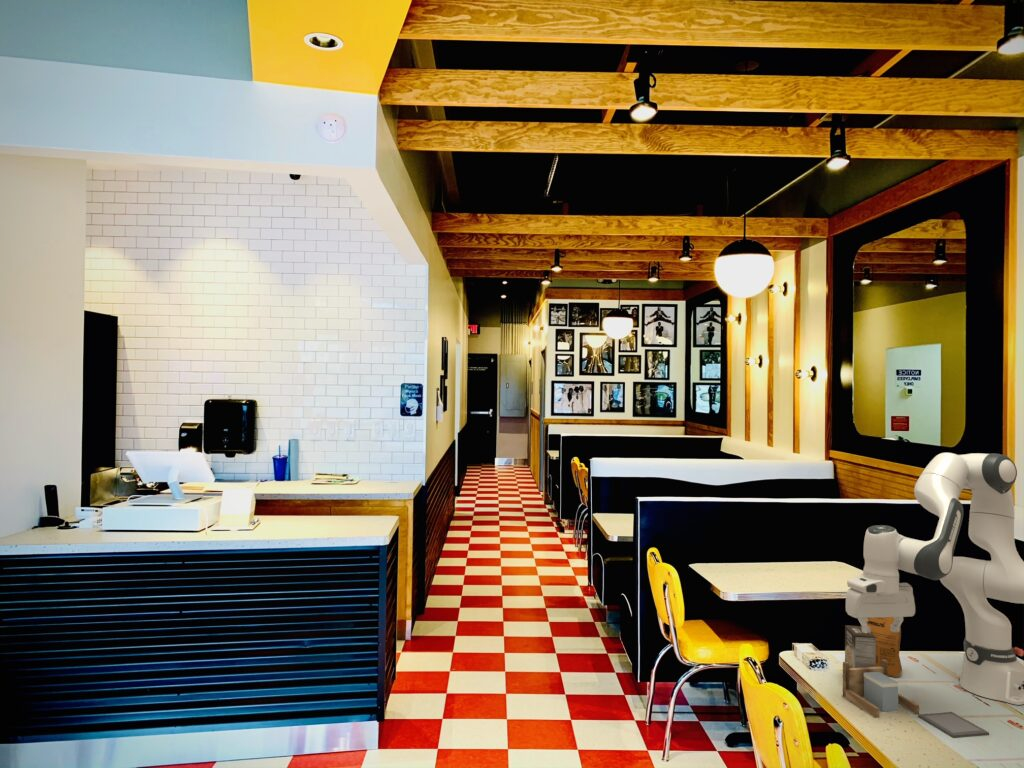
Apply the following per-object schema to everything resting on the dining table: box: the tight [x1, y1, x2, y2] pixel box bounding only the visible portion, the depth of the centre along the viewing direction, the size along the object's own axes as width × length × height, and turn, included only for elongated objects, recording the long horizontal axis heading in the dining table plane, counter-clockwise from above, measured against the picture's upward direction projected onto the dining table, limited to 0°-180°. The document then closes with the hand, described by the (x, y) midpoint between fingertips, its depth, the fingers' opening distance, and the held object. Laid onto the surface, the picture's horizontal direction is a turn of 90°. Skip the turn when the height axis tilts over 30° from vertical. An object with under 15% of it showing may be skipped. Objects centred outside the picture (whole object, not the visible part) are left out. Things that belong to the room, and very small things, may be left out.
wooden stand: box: [842, 659, 920, 719], centre depth 176 cm, size 14×13×10 cm
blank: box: [863, 672, 899, 713], centre depth 176 cm, size 5×7×8 cm
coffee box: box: [844, 624, 876, 668], centre depth 191 cm, size 9×6×16 cm
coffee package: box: [860, 617, 903, 678], centre depth 201 cm, size 10×12×22 cm
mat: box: [917, 711, 990, 739], centre depth 165 cm, size 11×11×1 cm
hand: (880, 632), depth 176 cm, fingers open, 8 cm apart
